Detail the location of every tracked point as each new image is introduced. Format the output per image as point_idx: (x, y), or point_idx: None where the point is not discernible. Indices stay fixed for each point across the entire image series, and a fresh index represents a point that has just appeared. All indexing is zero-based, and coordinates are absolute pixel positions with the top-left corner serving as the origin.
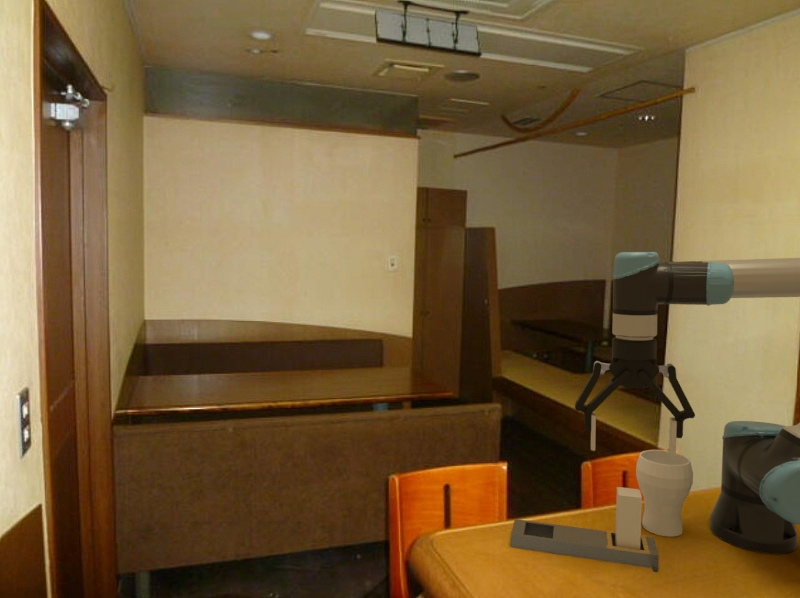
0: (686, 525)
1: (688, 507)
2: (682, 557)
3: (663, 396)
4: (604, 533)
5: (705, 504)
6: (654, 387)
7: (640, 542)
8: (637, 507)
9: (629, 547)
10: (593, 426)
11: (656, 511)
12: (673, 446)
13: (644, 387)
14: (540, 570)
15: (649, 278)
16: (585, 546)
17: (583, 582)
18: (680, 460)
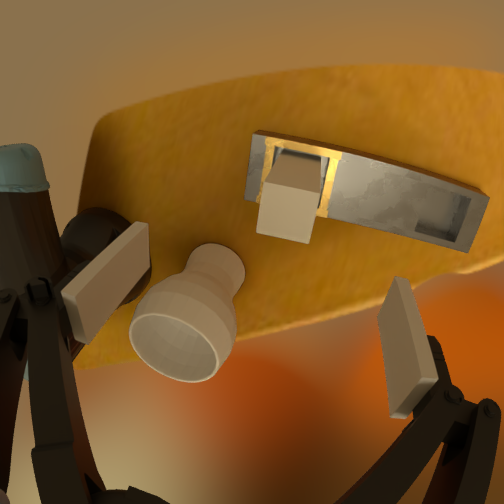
0: None
1: None
2: (207, 181)
3: (40, 400)
4: (330, 207)
5: None
6: (49, 462)
7: None
8: (276, 176)
9: (298, 157)
10: (421, 339)
11: (219, 271)
12: (124, 240)
13: (116, 491)
14: (450, 125)
15: None
16: (378, 160)
17: (391, 88)
18: (147, 351)
